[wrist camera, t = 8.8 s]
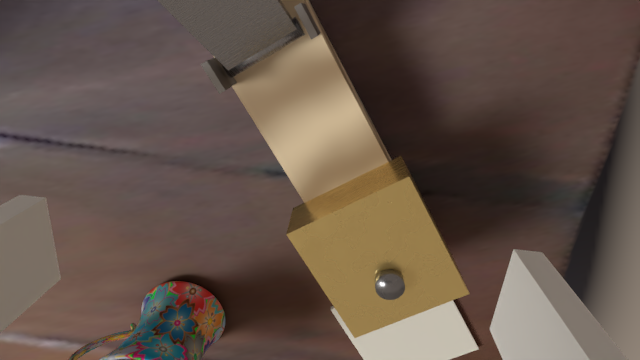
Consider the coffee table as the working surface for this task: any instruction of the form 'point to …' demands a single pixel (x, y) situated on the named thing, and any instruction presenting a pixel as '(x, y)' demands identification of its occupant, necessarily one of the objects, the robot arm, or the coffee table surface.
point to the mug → (168, 326)
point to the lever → (237, 29)
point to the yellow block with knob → (376, 249)
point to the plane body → (307, 109)
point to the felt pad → (417, 337)
